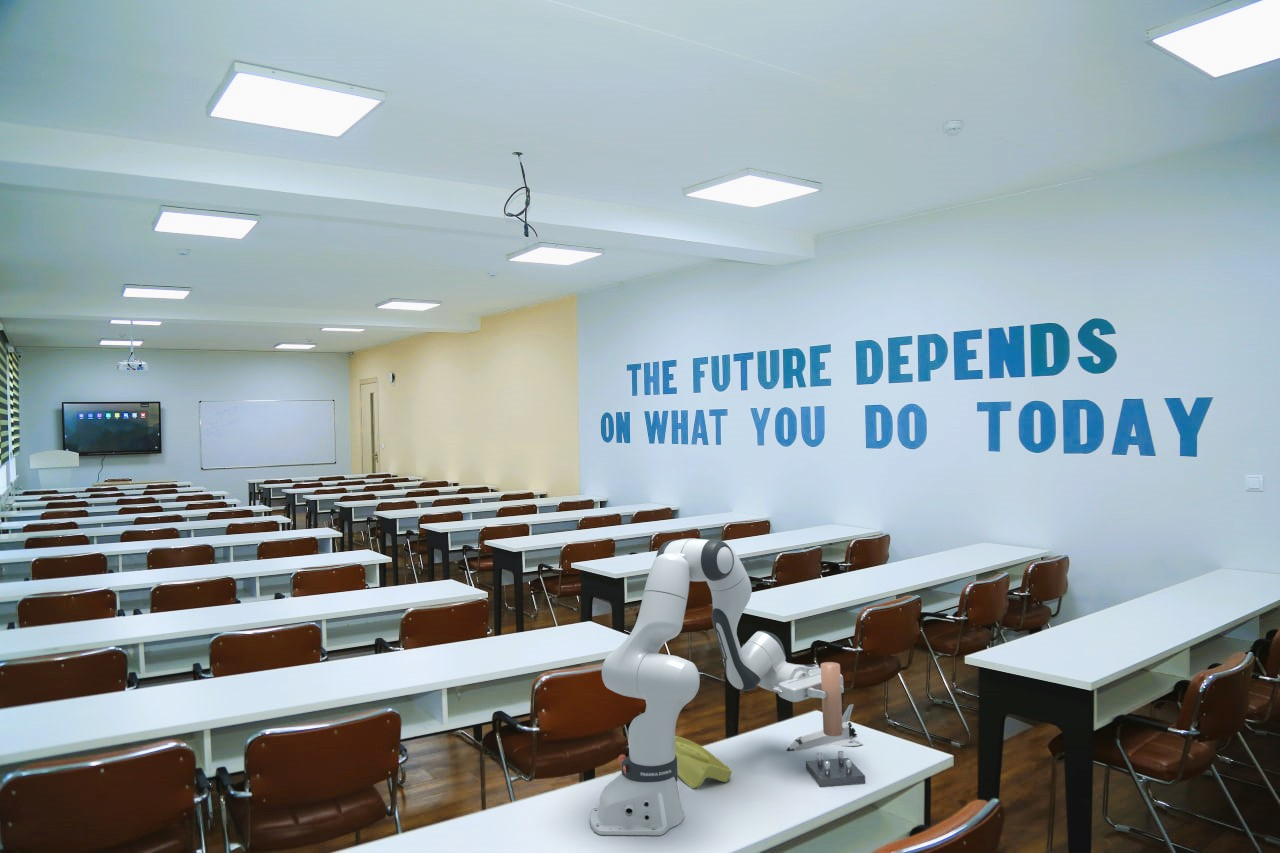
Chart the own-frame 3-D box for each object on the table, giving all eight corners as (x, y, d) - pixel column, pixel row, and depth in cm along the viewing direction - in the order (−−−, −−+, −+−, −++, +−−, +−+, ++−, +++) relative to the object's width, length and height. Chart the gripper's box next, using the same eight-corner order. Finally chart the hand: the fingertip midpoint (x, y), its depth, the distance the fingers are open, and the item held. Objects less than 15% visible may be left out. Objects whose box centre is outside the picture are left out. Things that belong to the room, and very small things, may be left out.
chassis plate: (820, 787, 204) (819, 767, 204) (805, 768, 215) (804, 749, 216) (865, 783, 205) (864, 763, 205) (848, 765, 217) (847, 746, 217)
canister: (832, 737, 207) (829, 668, 208) (819, 732, 212) (816, 664, 212) (846, 733, 210) (843, 665, 210) (833, 728, 214) (831, 661, 214)
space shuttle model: (771, 744, 236) (770, 710, 236) (838, 729, 246) (836, 696, 246) (803, 762, 222) (802, 726, 222) (872, 745, 232) (871, 710, 232)
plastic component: (735, 773, 209) (705, 763, 205) (724, 800, 208) (694, 791, 204) (698, 743, 227) (670, 733, 223) (688, 768, 226) (660, 759, 222)
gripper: (768, 677, 215) (806, 688, 204) (818, 663, 227) (858, 673, 216) (768, 700, 215) (807, 713, 204) (819, 685, 227) (859, 696, 216)
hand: (834, 692), depth 210 cm, fingers closed on canister, 5 cm apart
